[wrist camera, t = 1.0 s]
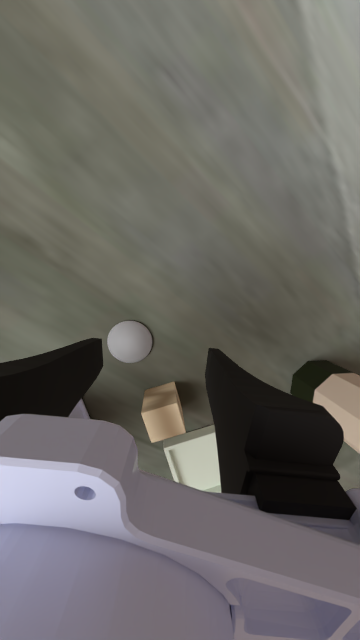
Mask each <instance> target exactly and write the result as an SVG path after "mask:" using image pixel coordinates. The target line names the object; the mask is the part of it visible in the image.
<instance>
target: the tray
mask: <svg viewBox="0 0 360 640" xmlns="http://www.w3.org/2000/svg"><path fill="white" fill-rule="evenodd" d="M163 449H164V451H165V454H166V457H167V460H168V463H169V466H170V469H171V472H172V475H173V478H174V481H175V482H178V483H181V484H184V485H187V486H190V487H193V488H196V489H199V490H202V491H205V492H217V493H221V483H220V472H219V461H218V452H217V443H216V434H215V426H214V425H211V426H207V427H204V428H201V429H198V430H194V431H191V432H188V433H185V434H181V435H178V436H175V437H172V438H168V439H165V440H163Z"/></svg>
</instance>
